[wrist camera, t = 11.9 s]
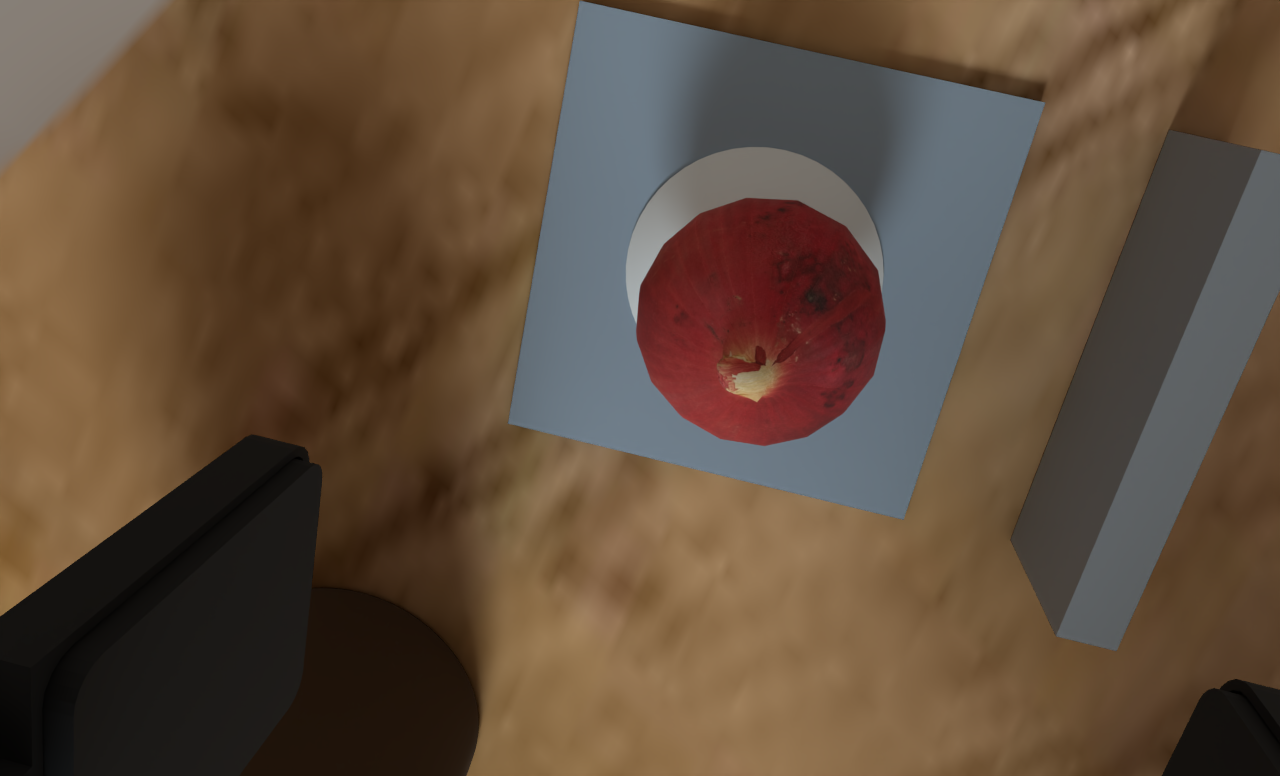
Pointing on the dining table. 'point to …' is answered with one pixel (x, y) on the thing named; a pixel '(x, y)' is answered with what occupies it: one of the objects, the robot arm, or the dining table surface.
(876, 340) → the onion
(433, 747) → the olive oil
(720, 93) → the mat
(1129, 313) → the low wall
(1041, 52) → the dining table surface
